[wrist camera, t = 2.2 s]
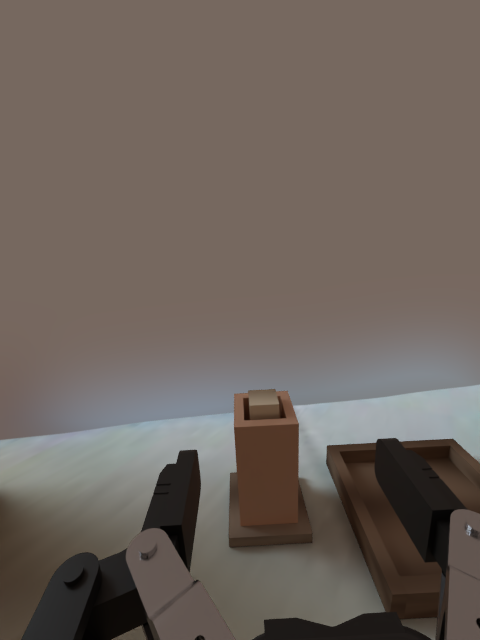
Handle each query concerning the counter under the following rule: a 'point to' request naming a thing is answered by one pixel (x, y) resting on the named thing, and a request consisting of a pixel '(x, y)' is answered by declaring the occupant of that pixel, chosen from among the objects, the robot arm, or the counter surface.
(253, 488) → the sleeve
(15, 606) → the counter surface
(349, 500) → the tray
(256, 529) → the post
